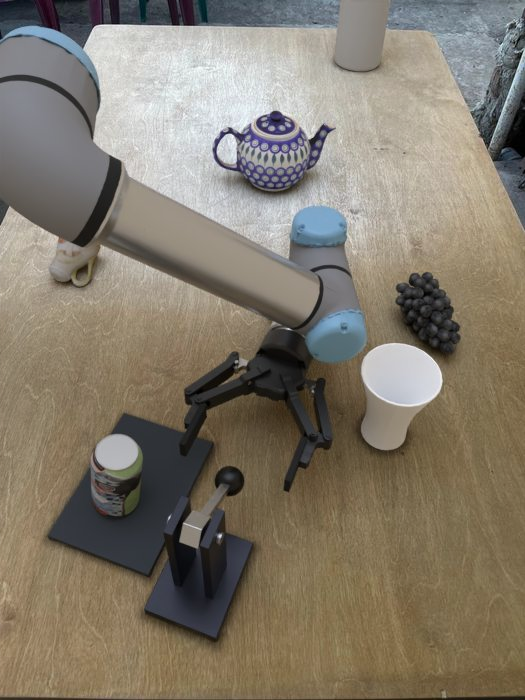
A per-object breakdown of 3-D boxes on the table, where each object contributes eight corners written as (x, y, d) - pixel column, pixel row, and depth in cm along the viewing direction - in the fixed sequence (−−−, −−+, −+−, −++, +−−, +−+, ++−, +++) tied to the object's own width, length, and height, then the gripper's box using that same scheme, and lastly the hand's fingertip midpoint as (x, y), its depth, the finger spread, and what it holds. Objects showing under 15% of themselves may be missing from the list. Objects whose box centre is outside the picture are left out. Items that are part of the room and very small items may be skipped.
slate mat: (48, 538, 78) (47, 535, 78) (124, 415, 91) (123, 412, 90) (149, 577, 76) (148, 574, 75) (213, 445, 88) (213, 442, 87)
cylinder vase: (389, 62, 168) (408, -43, 149) (360, 77, 162) (377, -30, 143) (352, 47, 174) (366, -56, 155) (324, 61, 168) (335, -44, 149)
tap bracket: (187, 523, 80) (179, 459, 68) (253, 547, 78) (256, 486, 66) (145, 613, 73) (127, 559, 61) (216, 642, 71) (212, 592, 59)
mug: (39, 284, 108) (34, 226, 105) (80, 275, 116) (77, 221, 113) (70, 290, 105) (66, 230, 102) (110, 280, 113) (108, 225, 110)
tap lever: (218, 482, 78) (223, 457, 77) (245, 491, 77) (250, 466, 76) (171, 544, 65) (177, 515, 63) (203, 556, 64) (209, 527, 63)
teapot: (216, 202, 125) (214, 135, 114) (210, 161, 135) (207, 95, 123) (338, 195, 128) (347, 129, 117) (323, 155, 137) (331, 90, 126)
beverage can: (90, 486, 82) (72, 436, 73) (146, 471, 84) (135, 421, 75) (97, 529, 78) (79, 482, 69) (155, 513, 80) (145, 465, 71)
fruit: (476, 323, 92) (432, 256, 102) (424, 344, 93) (384, 276, 102) (476, 354, 99) (435, 289, 108) (427, 374, 100) (390, 307, 109)
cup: (421, 409, 93) (444, 350, 83) (417, 470, 86) (441, 414, 76) (352, 396, 94) (365, 336, 84) (342, 454, 88) (355, 396, 77)
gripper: (370, 387, 89) (329, 516, 76) (209, 338, 94) (144, 451, 81) (379, 353, 83) (336, 486, 70) (208, 303, 88) (137, 419, 75)
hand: (233, 468), depth 75 cm, fingers open, 13 cm apart
